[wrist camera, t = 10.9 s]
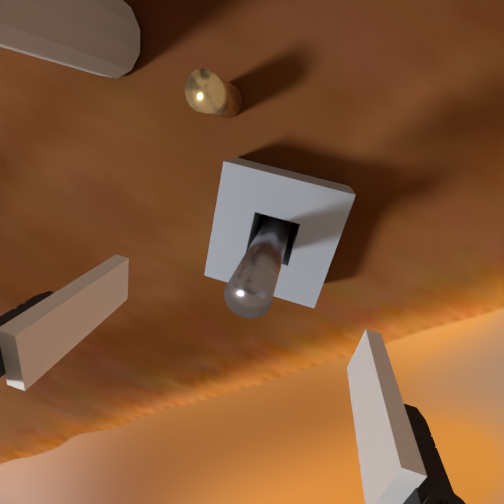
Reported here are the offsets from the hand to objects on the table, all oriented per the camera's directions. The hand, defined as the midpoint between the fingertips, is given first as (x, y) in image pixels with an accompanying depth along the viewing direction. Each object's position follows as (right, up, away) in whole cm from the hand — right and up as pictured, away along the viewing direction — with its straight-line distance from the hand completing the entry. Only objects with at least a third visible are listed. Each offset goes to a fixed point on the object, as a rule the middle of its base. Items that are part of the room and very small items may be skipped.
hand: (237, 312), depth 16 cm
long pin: (+4, +6, +17) cm, 18 cm away
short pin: (-2, +18, +13) cm, 23 cm away
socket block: (+4, +6, +17) cm, 18 cm away
